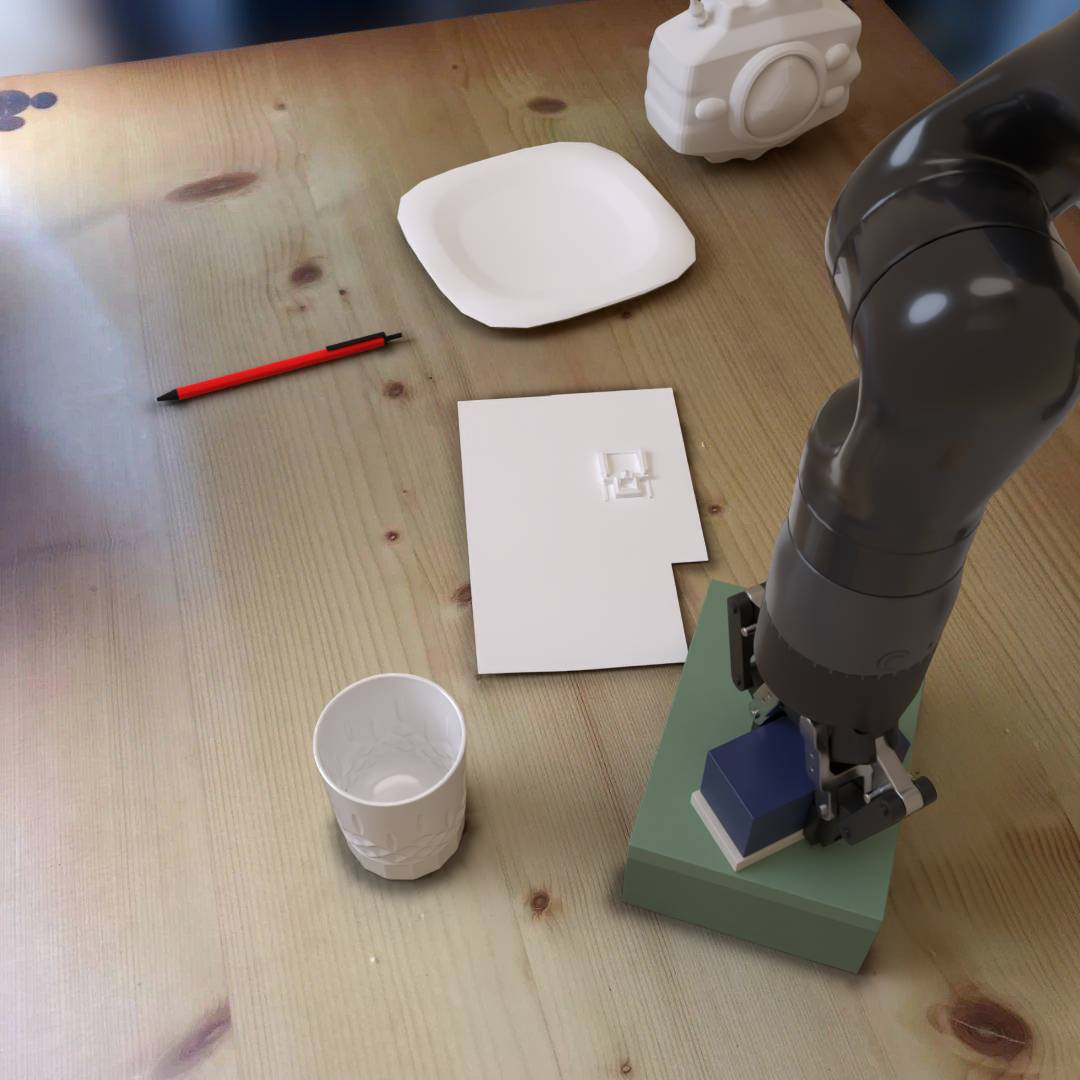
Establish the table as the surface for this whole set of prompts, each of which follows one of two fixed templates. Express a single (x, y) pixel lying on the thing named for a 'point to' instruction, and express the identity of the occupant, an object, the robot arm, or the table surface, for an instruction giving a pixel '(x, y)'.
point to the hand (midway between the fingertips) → (795, 792)
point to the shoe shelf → (773, 882)
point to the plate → (544, 235)
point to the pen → (281, 366)
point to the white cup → (395, 772)
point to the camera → (749, 74)
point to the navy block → (759, 792)
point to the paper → (577, 529)
